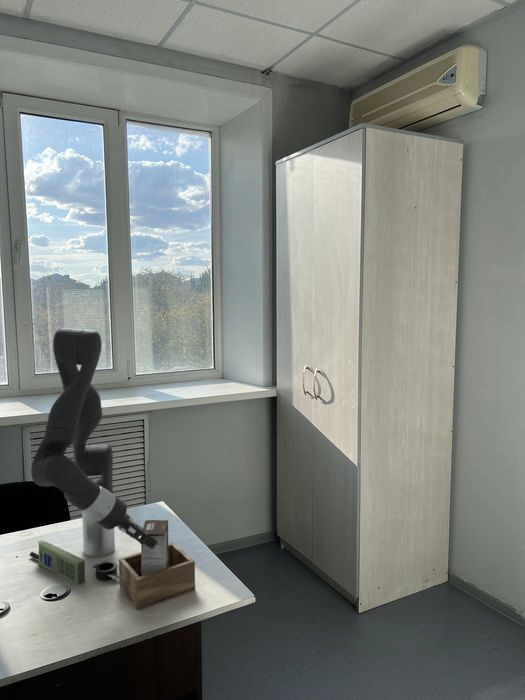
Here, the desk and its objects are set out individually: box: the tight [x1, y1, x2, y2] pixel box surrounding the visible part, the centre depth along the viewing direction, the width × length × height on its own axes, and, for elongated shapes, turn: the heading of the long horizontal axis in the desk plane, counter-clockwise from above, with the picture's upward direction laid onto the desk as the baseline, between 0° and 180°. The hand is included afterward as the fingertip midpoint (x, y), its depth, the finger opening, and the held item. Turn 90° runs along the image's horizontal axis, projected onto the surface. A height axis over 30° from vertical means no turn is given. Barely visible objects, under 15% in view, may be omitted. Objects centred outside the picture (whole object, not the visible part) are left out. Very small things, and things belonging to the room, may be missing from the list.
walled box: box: [118, 542, 196, 611], centre depth 140 cm, size 13×16×8 cm
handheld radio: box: [29, 540, 86, 586], centre depth 150 cm, size 7×3×25 cm
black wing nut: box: [92, 560, 120, 582], centre depth 147 cm, size 8×10×3 cm
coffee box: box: [140, 519, 169, 576], centre depth 140 cm, size 9×6×16 cm
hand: (147, 539), depth 138 cm, fingers open, 8 cm apart
